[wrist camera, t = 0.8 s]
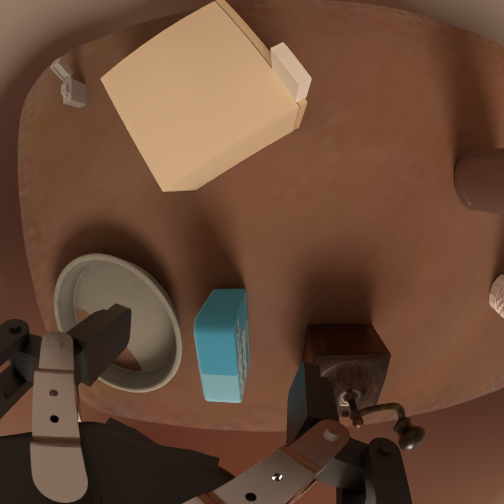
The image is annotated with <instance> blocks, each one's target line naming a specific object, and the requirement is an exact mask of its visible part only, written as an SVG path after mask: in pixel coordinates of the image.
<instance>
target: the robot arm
mask: <svg viewBox="0 0 504 504" xmlns="http://www.w3.org/2000/svg"><path fill="white" fill-rule="evenodd" d="M455 186H456V190H457V193H458V195H459V197H460V199H461V201H462V202H463V203H464V204H465V205H466V206H467V207H468V208H470V209H473V210H478V211H483V212H488V213H493V214H498V215H503V216H504V148H497V149H489V150H479V151H472V152H467V153H465V154H464V155H462V156H461V157H460V159H459V161H458V162H457V165H456V168H455ZM131 315H132V311H131V309H130V308H127V307H125V306H122V305H120V304H117V303H116V304H114V305H113V306H111V307H110V308H109V309H107V310H105V309H102V310H99V311H96V312H94V313H92V314H91V315H89V316H88V318H85V319H84V320H83V321H81V322H80V323H78V324H77V325H76V326H74V327H73V328H72V329H70V330H69V331H67V332H66V333H64V332H59V331H54V332H49V333H47V334H45V335H44V336H43V337H40V336H37V335H33V334H30V332H29V326H28V324H27V323H26V322H25V321H23V320H19V319H11V320H8V321H6V322H4V323H3V324H1V325H0V366H1V365H2V364H4V363H5V362H6V361H7V360H8V361H9V364H10V365H9V366H8V367H7V368H6V369H5V370H4V371H2V372H1V373H0V419H1V418H2V417H3V416H4V415H5V414H6V413H7V412H8V411H9V410H10V408H11V407H12V406H13V405H14V404H15V403H16V402H17V401H18V400H19V399H20V398H21V397H22V396H23V395H24V394H25V393H26V392H27V391H28V390H29V389H30V388H31V387H32V386H33V406H32V432H28V433H21V434H15V435H8V436H0V504H292V503H294V502H295V501H296V500H297V499H298V498H299V497H300V496H301V495H302V494H303V493H304V492H306V491H307V490H308V489H309V488H310V487H311V486H312V485H313V484H314V483H315V482H316V481H317V480H318V481H321V482H323V483H326V484H329V485H332V486H335V487H336V501H337V502H336V503H337V504H412V500H411V495H410V491H409V486H408V482H407V477H406V473H405V469H404V465H403V461H402V457H401V453H400V450H399V448H398V446H397V445H396V444H395V443H394V442H392V441H391V440H389V439H386V438H376V439H373V440H372V441H371V442H370V443H369V444H366V443H363V442H360V441H357V440H355V439H352V438H351V437H350V434H349V431H348V429H347V428H346V427H345V426H344V425H343V424H341V423H340V422H339V416H338V411H337V405H336V401H335V395H334V389H333V385H332V383H331V382H330V381H329V379H328V378H327V377H322V376H321V374H320V367H319V365H318V364H313V363H309V362H304V361H303V362H302V363H301V364H300V367H299V369H298V371H297V374H296V376H295V378H294V381H293V383H292V385H291V388H290V391H289V395H288V408H287V439H286V445H284V446H282V447H280V448H279V449H277V450H276V451H275V452H273V453H272V454H270V455H269V456H268V457H266V458H265V459H263V460H262V461H260V462H259V463H257V464H256V465H255V466H253V467H252V468H250V469H248V470H247V471H245V472H244V473H242V474H241V475H239V476H238V477H235V476H234V475H232V474H231V473H230V472H228V471H227V470H225V469H223V468H221V467H220V466H218V462H219V458H217V457H213V456H209V455H206V454H203V453H199V452H196V451H193V450H188V449H180V448H173V447H166V446H161V445H159V444H156V443H155V442H153V441H152V440H151V439H149V438H147V437H146V436H144V435H143V434H141V433H140V432H138V431H137V430H136V429H134V428H132V427H129V426H127V425H125V424H123V423H121V422H118V421H116V420H114V419H112V418H109V419H108V421H107V422H106V424H104V423H99V422H82V416H81V409H80V400H79V390H78V385H79V384H80V383H81V382H82V383H84V384H86V385H88V386H89V387H90V386H91V385H92V384H93V383H94V382H95V381H96V380H97V379H98V377H99V376H100V375H101V374H102V373H103V372H104V371H105V370H106V369H107V368H108V367H109V366H110V364H111V363H112V362H113V361H114V360H115V359H116V358H117V357H118V356H119V355H120V354H121V353H122V352H123V351H124V350H125V348H126V347H127V345H128V343H129V340H130V329H131Z"/></svg>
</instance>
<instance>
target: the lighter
mask: <svg viewBox="0 0 504 504" xmlns="http://www.w3.org/2000/svg"><path fill="white" fill-rule="evenodd" d="M51 69H52V70H53V71H54V72H55V73H56V74H57V75H58V76H59V78H60V79H61V80H62V81H64V84H63V85H62V86H61V95H63V103H64V104H68V105H71V106H74V107H77V108H81V107H83V106H85V105H86V84H83V83H81V82H79V81H77V80H74V79H72V78H71V76H72V74H73V71H72V70H71V69H70V68H69V66H68V65H67V64H66V63H65V62H64V61H63V59H62V58H59V59H57V60H55V61H54V62H53V64H52V65H51Z"/></svg>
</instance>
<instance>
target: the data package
mask: <svg viewBox="0 0 504 504" xmlns="http://www.w3.org/2000/svg"><path fill="white" fill-rule="evenodd" d="M193 331H194V340H195V346H196V353H197V359H198V365H199V371H200V377H201V383H202V388H203V394H204V398H205V400H207V401H216V402H234V403H240V402H242V399H243V394H244V389H245V383H246V378H247V373H248V367H249V362H250V343H249V327H248V310H247V294H246V290H245V289H214V290H213V291H212V292H211V294H210V295H209V297H208V299H207V300H206V302H205V303H204V305H203V306H202V308H201V310H200V311H199V313H198V314H197V316H196V318H195V320H194V328H193Z"/></svg>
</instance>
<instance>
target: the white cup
mask: <svg viewBox="0 0 504 504" xmlns="http://www.w3.org/2000/svg"><path fill="white" fill-rule="evenodd" d="M489 303H490V306H491V307H492V308H493V309H494V310H496V311H497V312H498V313H499V314H500V315H501V316H502V317H503V318H504V274H502V275H500V276H499V277H498V278H496V280H495V281H494V283H493V284H492V287H491V289H490V292H489Z"/></svg>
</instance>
